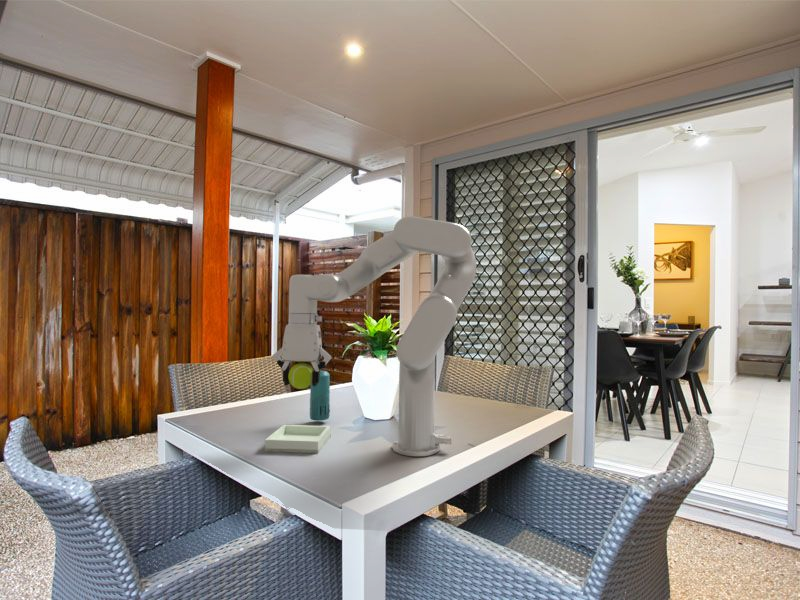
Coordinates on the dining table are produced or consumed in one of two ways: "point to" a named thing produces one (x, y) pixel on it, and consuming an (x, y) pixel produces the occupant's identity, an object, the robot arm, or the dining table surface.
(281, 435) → the tray
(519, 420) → the dining table surface
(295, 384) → the tennis ball
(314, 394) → the beverage bottle
